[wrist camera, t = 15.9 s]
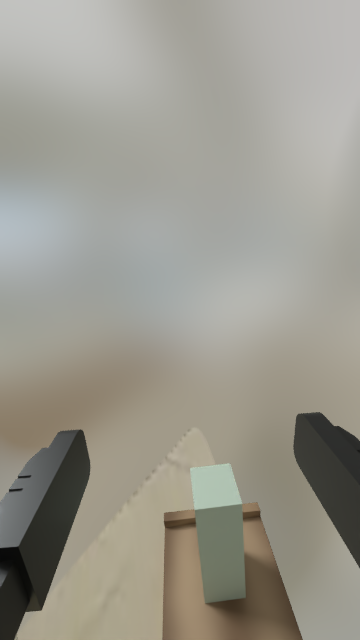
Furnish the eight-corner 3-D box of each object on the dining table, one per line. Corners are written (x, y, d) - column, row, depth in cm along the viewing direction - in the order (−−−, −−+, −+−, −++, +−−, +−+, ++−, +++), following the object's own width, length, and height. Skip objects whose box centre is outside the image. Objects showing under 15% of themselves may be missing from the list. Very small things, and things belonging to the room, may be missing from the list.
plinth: (165, 700, 20) (160, 673, 19) (167, 535, 31) (164, 512, 30) (308, 683, 20) (311, 655, 19) (257, 525, 31) (257, 502, 30)
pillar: (204, 603, 23) (194, 509, 20) (199, 553, 27) (190, 468, 23) (245, 597, 23) (242, 503, 20) (234, 548, 27) (229, 463, 23)
